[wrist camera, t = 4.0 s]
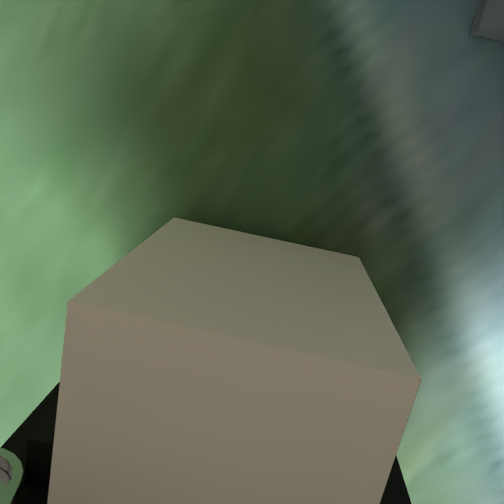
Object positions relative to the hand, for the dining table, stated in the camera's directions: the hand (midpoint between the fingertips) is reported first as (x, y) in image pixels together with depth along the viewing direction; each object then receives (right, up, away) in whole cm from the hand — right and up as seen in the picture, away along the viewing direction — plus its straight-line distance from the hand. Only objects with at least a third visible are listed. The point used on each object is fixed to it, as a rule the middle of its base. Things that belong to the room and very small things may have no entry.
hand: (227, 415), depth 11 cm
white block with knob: (0, 0, 0) cm, 1 cm away
